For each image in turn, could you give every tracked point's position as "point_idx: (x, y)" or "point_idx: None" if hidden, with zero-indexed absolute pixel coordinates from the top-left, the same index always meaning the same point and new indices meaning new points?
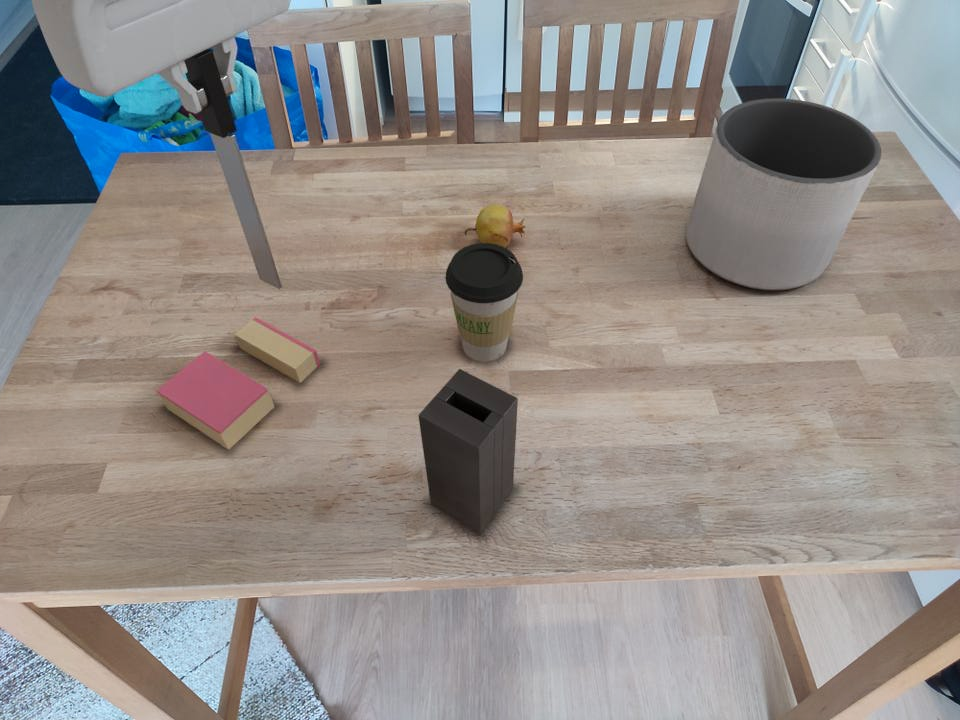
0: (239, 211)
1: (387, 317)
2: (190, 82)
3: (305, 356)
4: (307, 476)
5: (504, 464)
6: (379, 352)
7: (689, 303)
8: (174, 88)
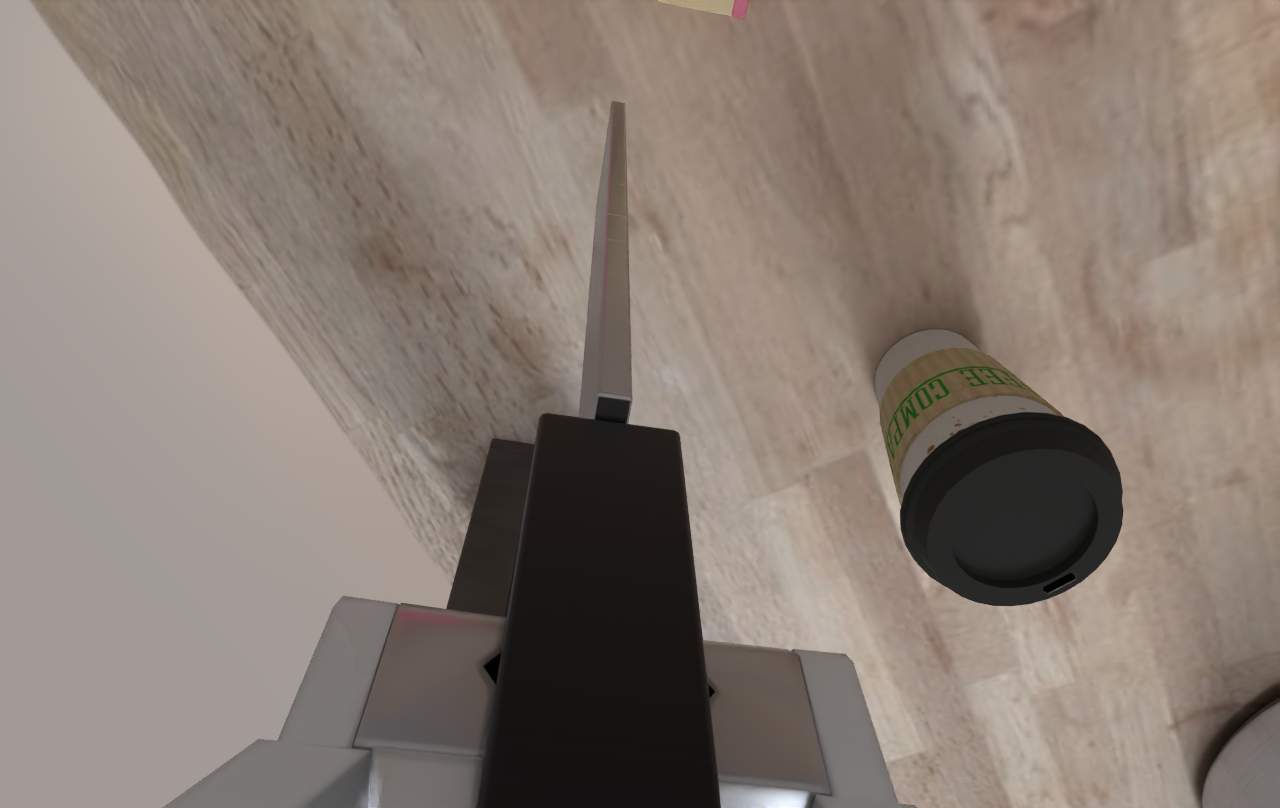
0: (603, 211)
1: (965, 103)
2: (481, 763)
3: (710, 2)
4: (426, 181)
5: None
6: (831, 148)
7: (1150, 690)
8: (240, 758)
